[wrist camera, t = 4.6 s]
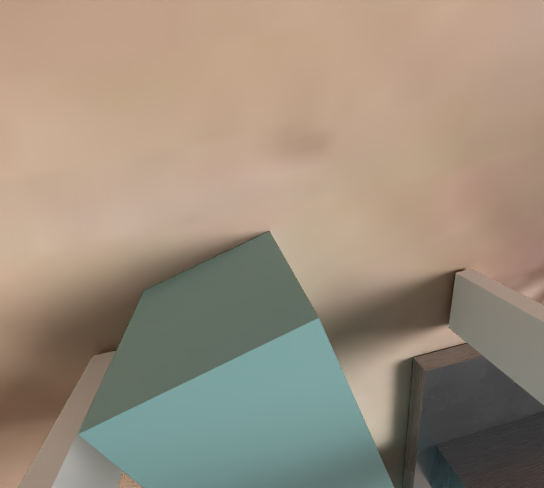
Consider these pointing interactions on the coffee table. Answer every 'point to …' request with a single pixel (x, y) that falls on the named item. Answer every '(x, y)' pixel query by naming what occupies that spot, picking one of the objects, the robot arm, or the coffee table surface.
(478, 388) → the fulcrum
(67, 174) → the coffee table surface
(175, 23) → the coffee table surface
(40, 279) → the coffee table surface
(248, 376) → the bar
